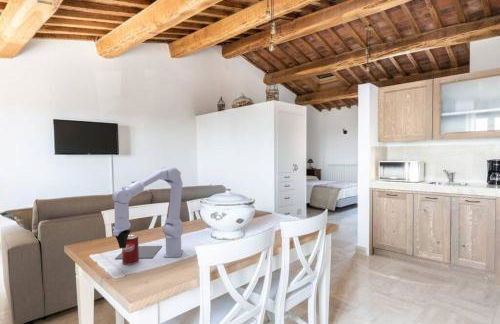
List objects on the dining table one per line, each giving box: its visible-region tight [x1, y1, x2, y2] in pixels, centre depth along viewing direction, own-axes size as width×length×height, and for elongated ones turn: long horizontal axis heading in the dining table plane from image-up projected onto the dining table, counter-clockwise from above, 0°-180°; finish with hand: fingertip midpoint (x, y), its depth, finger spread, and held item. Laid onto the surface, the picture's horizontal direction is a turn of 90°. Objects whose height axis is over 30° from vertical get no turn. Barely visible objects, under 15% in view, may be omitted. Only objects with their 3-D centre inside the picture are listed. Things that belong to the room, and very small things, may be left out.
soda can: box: [121, 234, 140, 266], centre depth 138 cm, size 7×7×12 cm
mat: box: [114, 245, 163, 260], centre depth 151 cm, size 18×18×1 cm
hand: (122, 247), depth 129 cm, fingers closed
